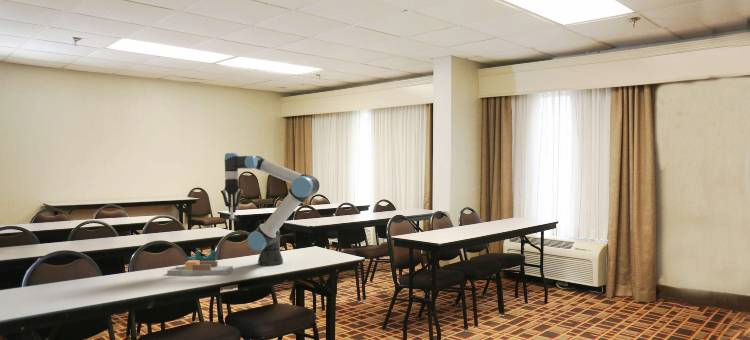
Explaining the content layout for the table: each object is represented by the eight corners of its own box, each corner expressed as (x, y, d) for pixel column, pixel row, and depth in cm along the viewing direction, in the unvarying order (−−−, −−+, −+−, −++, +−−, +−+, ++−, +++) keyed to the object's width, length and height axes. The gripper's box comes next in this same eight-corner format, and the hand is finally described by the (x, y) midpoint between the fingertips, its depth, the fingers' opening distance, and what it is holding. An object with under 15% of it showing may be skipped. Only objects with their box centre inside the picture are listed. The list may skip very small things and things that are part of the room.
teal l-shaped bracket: (214, 268, 316) (215, 251, 316) (196, 269, 309) (197, 251, 310) (203, 264, 330) (205, 247, 331) (186, 265, 324) (187, 248, 324)
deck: (232, 270, 307) (232, 260, 306) (226, 274, 295) (225, 264, 294) (176, 270, 308) (176, 261, 308) (167, 275, 296) (167, 265, 296)
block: (199, 267, 304) (199, 260, 304) (195, 269, 298) (195, 262, 298) (189, 267, 305) (189, 260, 305) (185, 269, 299) (185, 262, 299)
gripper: (244, 178, 319) (244, 217, 320) (222, 178, 320) (223, 217, 320) (240, 178, 312) (241, 218, 312) (218, 179, 313) (219, 218, 313)
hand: (232, 218), depth 316 cm, fingers closed
